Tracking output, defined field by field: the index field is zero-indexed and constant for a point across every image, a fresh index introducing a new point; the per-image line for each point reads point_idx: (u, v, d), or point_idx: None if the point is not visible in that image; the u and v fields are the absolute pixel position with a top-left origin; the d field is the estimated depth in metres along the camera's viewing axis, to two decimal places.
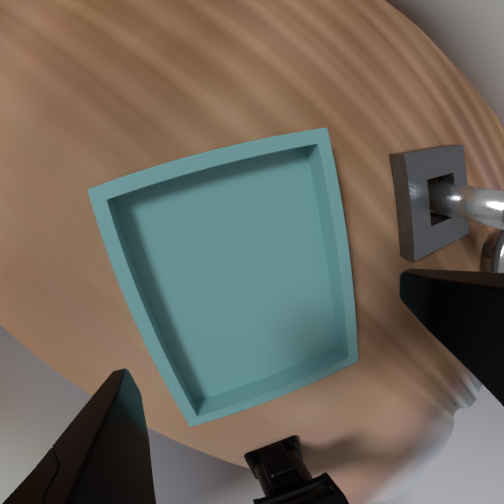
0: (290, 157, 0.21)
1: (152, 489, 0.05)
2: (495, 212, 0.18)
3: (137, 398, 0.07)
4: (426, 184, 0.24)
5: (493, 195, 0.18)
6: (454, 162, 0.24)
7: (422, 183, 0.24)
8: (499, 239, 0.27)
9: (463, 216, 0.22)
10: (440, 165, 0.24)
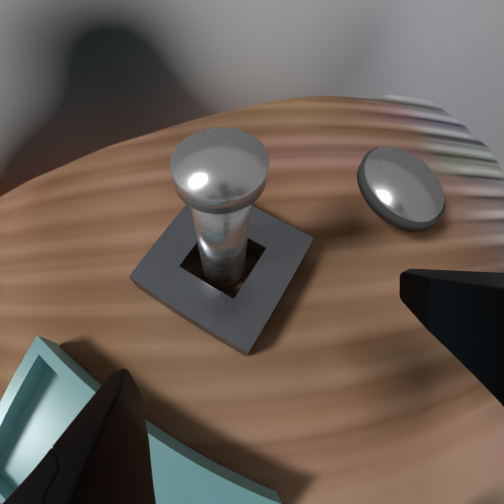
0: (49, 376, 0.17)
1: (152, 489, 0.05)
2: (199, 214, 0.15)
3: (137, 398, 0.07)
4: (182, 271, 0.21)
5: None
6: None
7: (175, 276, 0.21)
8: (362, 190, 0.23)
9: (222, 255, 0.18)
10: (187, 234, 0.22)
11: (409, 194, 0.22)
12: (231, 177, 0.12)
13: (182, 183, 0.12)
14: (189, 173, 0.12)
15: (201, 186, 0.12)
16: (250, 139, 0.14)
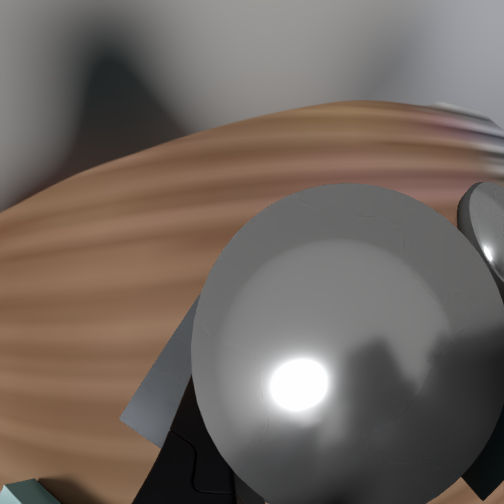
0: None
1: None
2: None
3: None
4: None
5: None
6: None
7: None
8: None
9: None
10: None
11: None
12: (441, 421, 0.03)
13: (270, 488, 0.02)
14: (291, 435, 0.03)
15: (348, 488, 0.02)
16: (451, 238, 0.04)
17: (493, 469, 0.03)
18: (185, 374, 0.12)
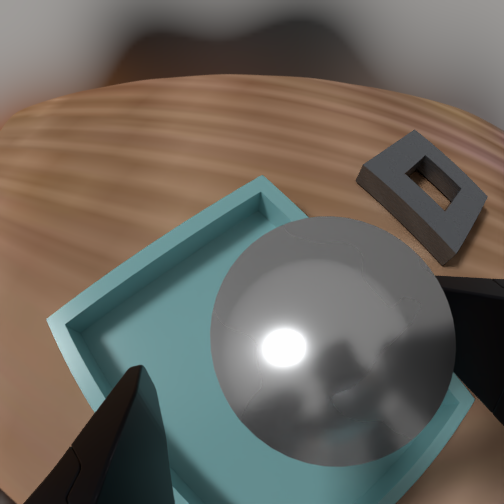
0: (249, 227, 0.20)
1: (171, 487, 0.05)
2: None
3: (153, 394, 0.07)
4: (407, 177, 0.22)
5: None
6: (418, 146, 0.24)
7: (402, 179, 0.21)
8: None
9: None
10: (407, 155, 0.23)
11: None
12: (391, 392, 0.04)
13: (263, 431, 0.04)
14: (278, 392, 0.04)
15: (320, 435, 0.04)
16: (405, 256, 0.05)
17: None
18: (397, 160, 0.22)
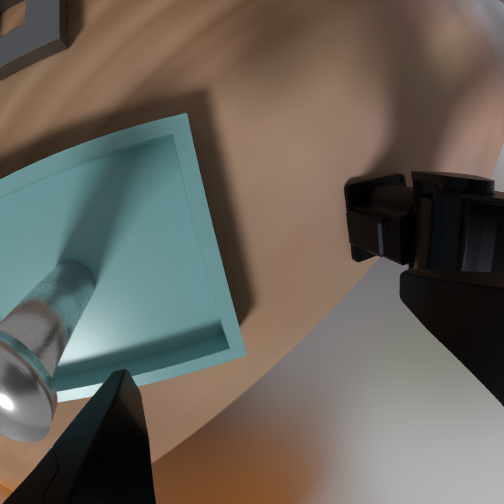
0: None
1: (152, 489, 0.05)
2: None
3: (137, 398, 0.07)
4: None
5: None
6: None
7: None
8: None
9: (73, 329, 0.13)
10: None
11: None
12: (22, 401, 0.07)
13: (32, 439, 0.07)
14: (19, 429, 0.07)
15: (35, 428, 0.07)
16: None
17: None
18: None
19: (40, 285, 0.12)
